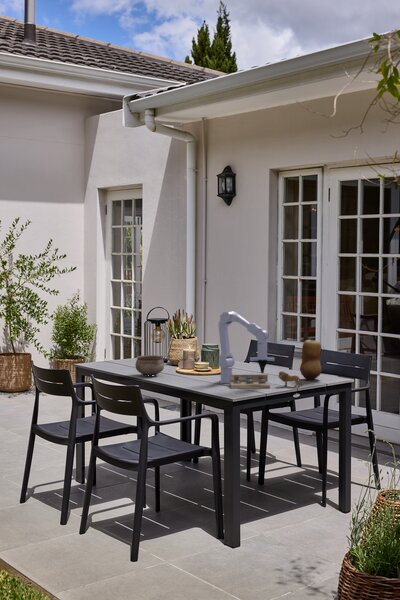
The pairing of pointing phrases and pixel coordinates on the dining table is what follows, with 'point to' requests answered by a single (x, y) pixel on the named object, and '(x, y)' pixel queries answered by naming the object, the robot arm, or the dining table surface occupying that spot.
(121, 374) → the dining table surface
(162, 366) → the brown footed bowl
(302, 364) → the butternut squash
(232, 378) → the button board
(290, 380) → the lion figurine
